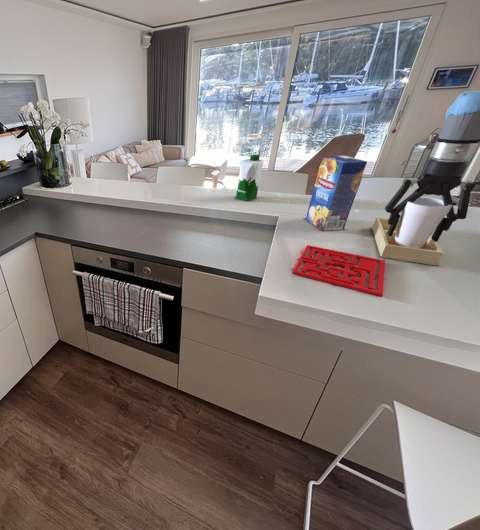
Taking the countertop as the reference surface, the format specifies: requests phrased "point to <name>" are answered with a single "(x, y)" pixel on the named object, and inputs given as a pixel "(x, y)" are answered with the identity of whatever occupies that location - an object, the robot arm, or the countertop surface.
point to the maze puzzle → (364, 266)
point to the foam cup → (420, 221)
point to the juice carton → (335, 191)
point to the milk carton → (249, 178)
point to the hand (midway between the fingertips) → (411, 237)
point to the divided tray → (391, 249)
